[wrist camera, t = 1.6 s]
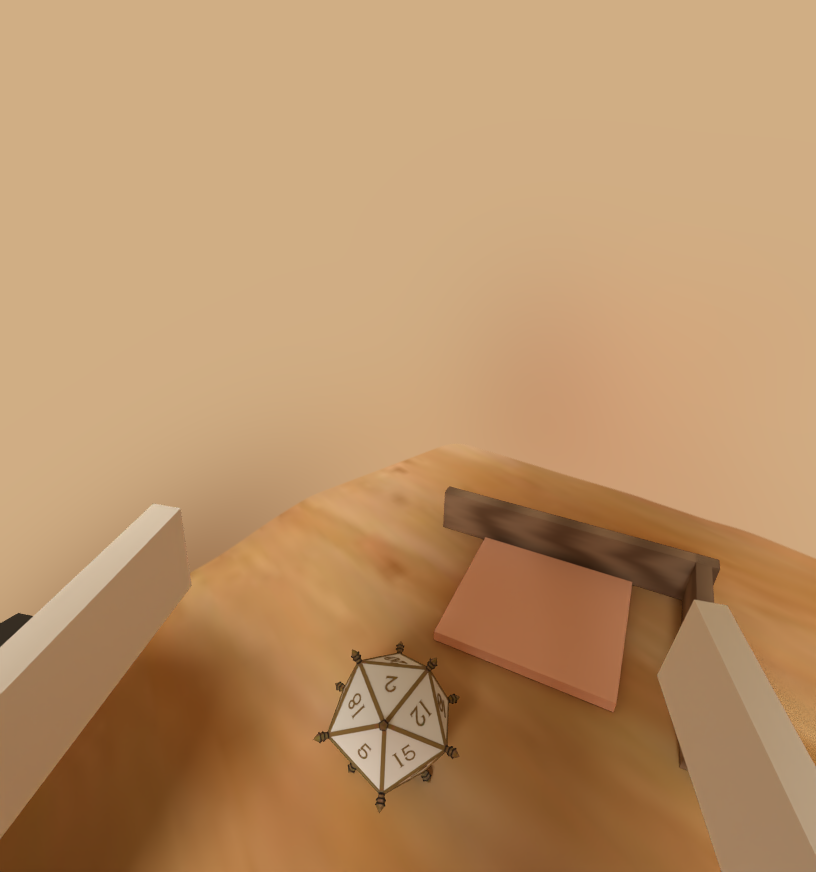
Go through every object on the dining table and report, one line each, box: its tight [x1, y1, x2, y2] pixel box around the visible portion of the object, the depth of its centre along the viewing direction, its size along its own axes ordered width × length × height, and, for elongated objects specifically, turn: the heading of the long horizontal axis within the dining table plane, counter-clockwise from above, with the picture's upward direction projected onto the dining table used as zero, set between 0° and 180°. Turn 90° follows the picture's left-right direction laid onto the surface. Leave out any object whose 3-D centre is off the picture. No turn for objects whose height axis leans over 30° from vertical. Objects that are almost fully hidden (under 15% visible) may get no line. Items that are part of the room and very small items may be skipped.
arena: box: [443, 486, 720, 770], centre depth 42 cm, size 25×17×4 cm
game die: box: [313, 642, 459, 813], centre depth 31 cm, size 9×8×10 cm
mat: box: [434, 537, 632, 712], centre depth 43 cm, size 14×13×1 cm
